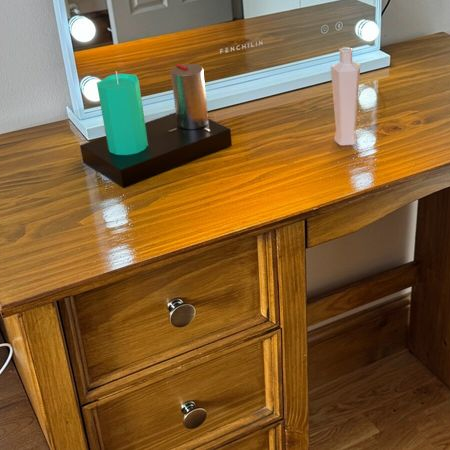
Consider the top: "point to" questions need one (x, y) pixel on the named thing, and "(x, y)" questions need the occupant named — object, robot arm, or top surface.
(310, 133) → the top surface
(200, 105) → the silver metal cylinder
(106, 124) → the candle
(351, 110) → the perfume bottle
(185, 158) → the block
